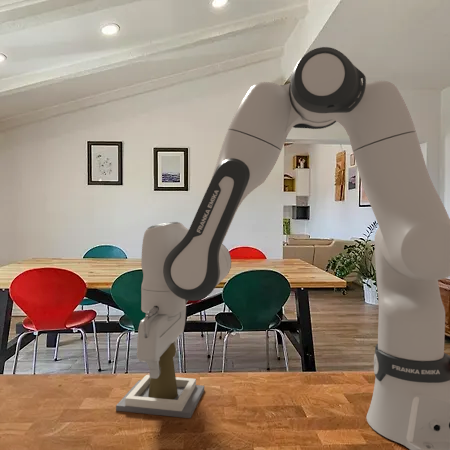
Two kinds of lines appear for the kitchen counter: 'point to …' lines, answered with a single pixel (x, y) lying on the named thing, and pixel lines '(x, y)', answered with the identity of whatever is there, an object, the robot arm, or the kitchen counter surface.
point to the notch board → (177, 407)
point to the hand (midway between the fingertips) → (162, 367)
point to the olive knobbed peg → (165, 377)
